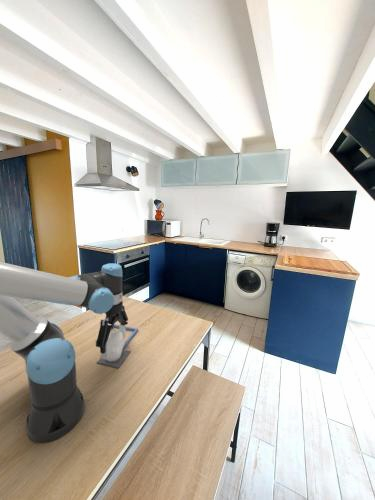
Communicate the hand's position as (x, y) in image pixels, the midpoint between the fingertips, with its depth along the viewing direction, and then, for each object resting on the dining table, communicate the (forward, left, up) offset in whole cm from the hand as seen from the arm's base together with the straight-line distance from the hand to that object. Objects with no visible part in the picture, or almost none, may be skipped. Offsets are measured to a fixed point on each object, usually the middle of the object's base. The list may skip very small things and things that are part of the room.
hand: (114, 347), depth 89 cm
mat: (0, 0, -5) cm, 5 cm away
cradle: (+13, +6, -5) cm, 15 cm away
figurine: (0, 0, -5) cm, 5 cm away
